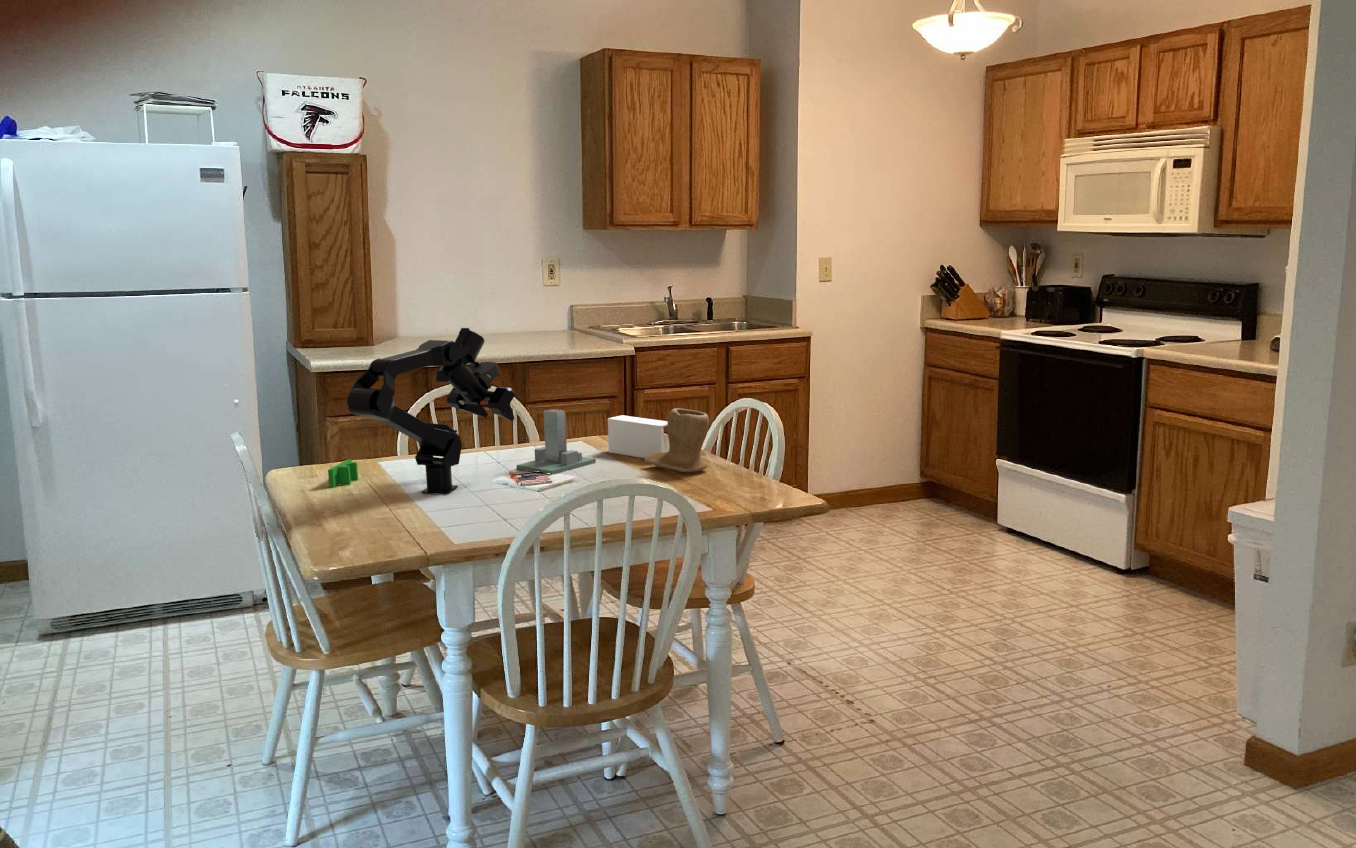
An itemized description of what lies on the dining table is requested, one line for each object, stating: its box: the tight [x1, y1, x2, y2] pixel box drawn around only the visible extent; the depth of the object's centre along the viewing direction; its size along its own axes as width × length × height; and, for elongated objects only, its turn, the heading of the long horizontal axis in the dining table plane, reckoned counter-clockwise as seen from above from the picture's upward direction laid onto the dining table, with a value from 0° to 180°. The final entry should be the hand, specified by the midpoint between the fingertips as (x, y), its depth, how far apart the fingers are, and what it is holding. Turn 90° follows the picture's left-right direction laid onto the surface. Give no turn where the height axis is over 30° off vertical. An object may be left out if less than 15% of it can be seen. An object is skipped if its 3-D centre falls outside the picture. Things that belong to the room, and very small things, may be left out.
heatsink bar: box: [543, 408, 568, 464], centre depth 273 cm, size 3×5×13 cm
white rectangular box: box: [607, 414, 669, 459], centre depth 284 cm, size 20×6×9 cm, turn 49°
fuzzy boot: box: [643, 407, 710, 473], centre depth 266 cm, size 15×12×15 cm
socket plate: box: [516, 446, 597, 475], centre depth 274 cm, size 16×12×4 cm
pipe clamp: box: [327, 459, 359, 489], centre depth 262 cm, size 11×4×5 cm, turn 173°
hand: (499, 417), depth 266 cm, fingers open, 9 cm apart
